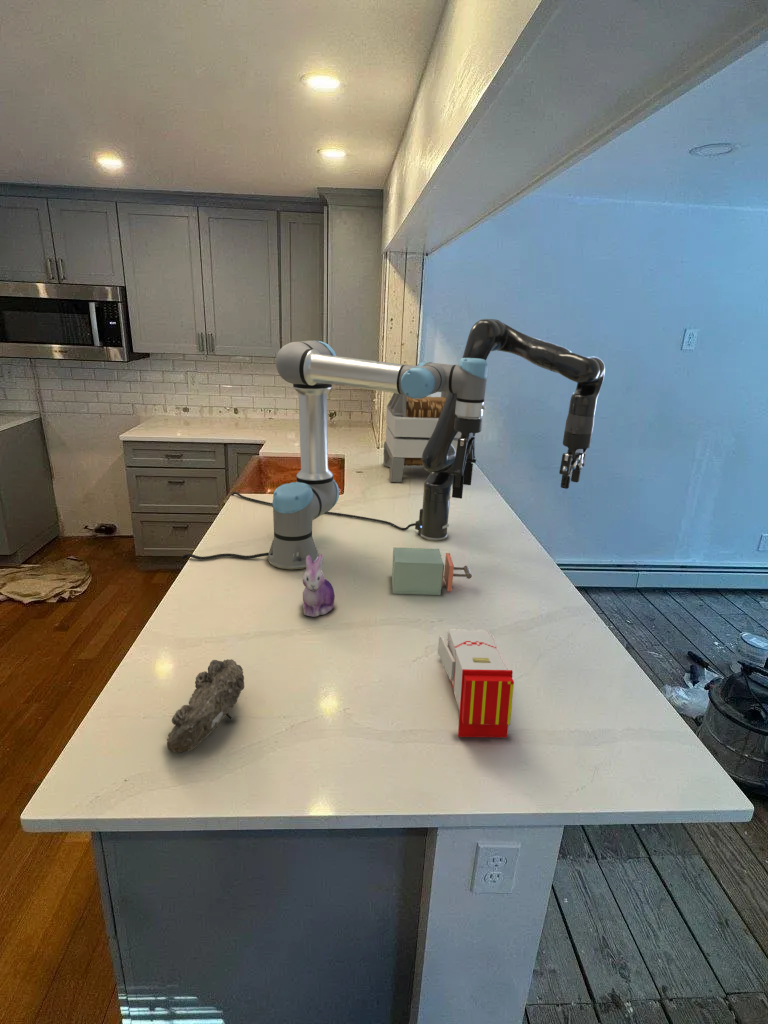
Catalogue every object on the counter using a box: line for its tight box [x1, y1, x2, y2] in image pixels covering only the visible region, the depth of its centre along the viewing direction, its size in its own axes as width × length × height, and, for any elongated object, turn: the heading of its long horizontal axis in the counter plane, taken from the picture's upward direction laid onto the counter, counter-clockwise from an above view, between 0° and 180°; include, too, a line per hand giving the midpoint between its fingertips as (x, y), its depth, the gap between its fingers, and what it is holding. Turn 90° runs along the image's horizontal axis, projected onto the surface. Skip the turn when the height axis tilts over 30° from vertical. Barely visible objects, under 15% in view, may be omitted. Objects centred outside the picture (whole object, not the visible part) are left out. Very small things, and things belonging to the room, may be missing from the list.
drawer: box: [441, 552, 473, 592], centre depth 161 cm, size 18×9×8 cm, turn 91°
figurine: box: [302, 554, 336, 617], centre depth 145 cm, size 9×10×15 cm
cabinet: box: [391, 546, 444, 596], centre depth 161 cm, size 13×10×10 cm
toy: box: [437, 628, 515, 738], centre depth 117 cm, size 12×13×30 cm
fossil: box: [166, 658, 245, 754], centre depth 106 cm, size 22×10×15 cm
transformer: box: [383, 392, 461, 483], centre depth 268 cm, size 34×33×41 cm
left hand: (461, 490), depth 162 cm, fingers open, 13 cm apart
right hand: (569, 484), depth 165 cm, fingers open, 8 cm apart
